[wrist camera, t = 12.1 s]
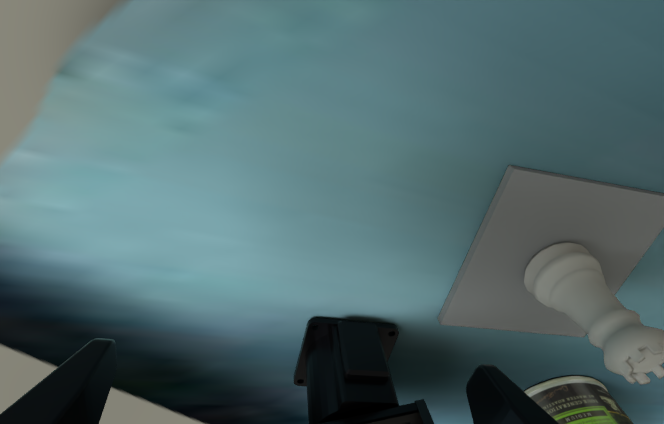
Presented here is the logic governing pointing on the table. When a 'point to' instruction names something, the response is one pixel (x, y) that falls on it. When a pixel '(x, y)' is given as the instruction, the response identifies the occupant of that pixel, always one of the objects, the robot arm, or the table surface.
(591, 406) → the coffee can
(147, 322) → the table surface
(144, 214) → the table surface
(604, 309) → the rook chess piece
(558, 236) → the grey mat
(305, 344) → the robot arm
